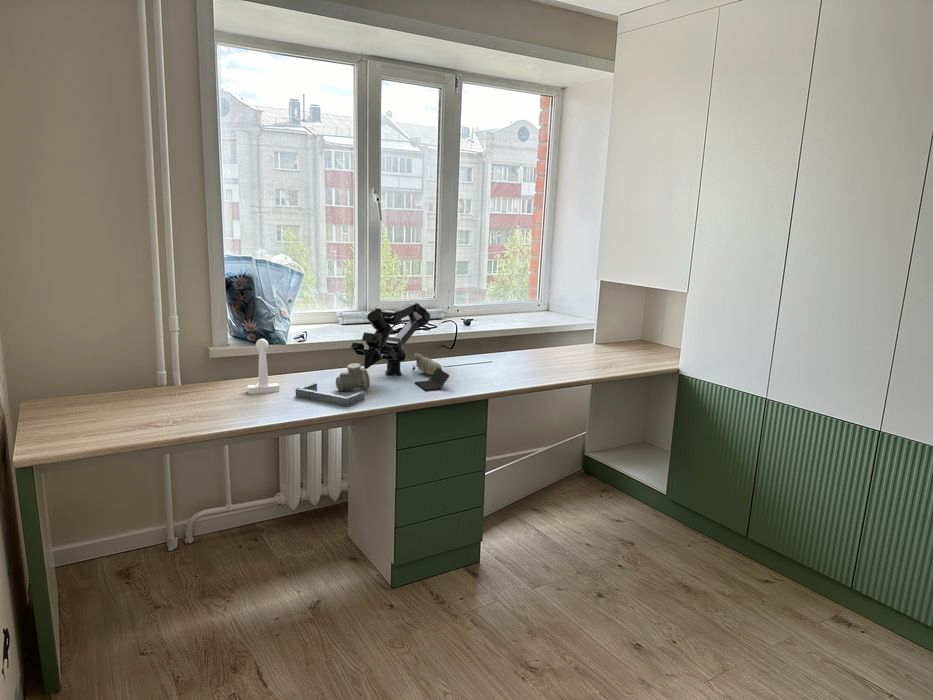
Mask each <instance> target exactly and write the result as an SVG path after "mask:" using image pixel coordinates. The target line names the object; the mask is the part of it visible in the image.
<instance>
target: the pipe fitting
mask: <svg viewBox="0 0 933 700" xmlns="http://www.w3.org/2000/svg"><path fill="white" fill-rule="evenodd" d="M346 367H347V370H346V371H345V370H344V371H342V372H340V373H339V375H338V376H337V377H336V378H335V386H336V389H337V390H338V391H339V392H341V393H342V392H345V391H351V390H353V389H358V388H360V389H361V390H366V389H369V388H370V385H371V383H370V376H369V375H370V374H369V372H368V371H367V369H365V368H364V367H362V365H361V363H357V362H354V363H352V362H351V363H349V364H347V366H346Z"/></svg>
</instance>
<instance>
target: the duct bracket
mask: <svg viewBox="0 0 933 700" xmlns="http://www.w3.org/2000/svg"><path fill="white" fill-rule="evenodd" d="M295 398H300V399H305V400H310V401H315V402H321V403H326V404H331V405H336V406H341V407H346V408H349V407H351V406H354V405H356V404H358V403H361V402H363V401H365V399H366V392H365V391H362V390H361V391H358V392H355V393H353V394H350V395H349V396H344V395H338V394H333V393H328V392H322V391H319V390H318V383H317V382H312V383H308V384H305V385H302V386H301V387H300V386H299V387H297V388H295Z"/></svg>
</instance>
